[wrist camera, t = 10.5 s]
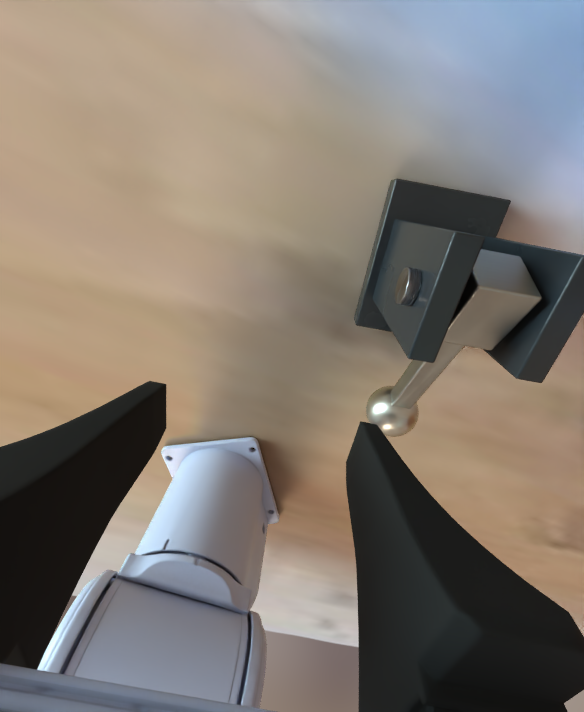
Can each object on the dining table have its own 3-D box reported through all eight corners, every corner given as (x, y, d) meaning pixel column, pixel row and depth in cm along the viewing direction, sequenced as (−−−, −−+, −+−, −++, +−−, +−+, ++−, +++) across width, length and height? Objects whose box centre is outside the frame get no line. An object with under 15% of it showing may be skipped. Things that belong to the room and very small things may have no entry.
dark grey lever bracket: (444, 336, 21) (531, 426, 12) (353, 319, 21) (379, 398, 12) (499, 200, 17) (672, 199, 9) (390, 179, 17) (462, 158, 9)
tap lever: (404, 405, 22) (408, 448, 20) (360, 397, 21) (360, 440, 20) (529, 252, 12) (559, 307, 10) (451, 238, 12) (467, 290, 10)
